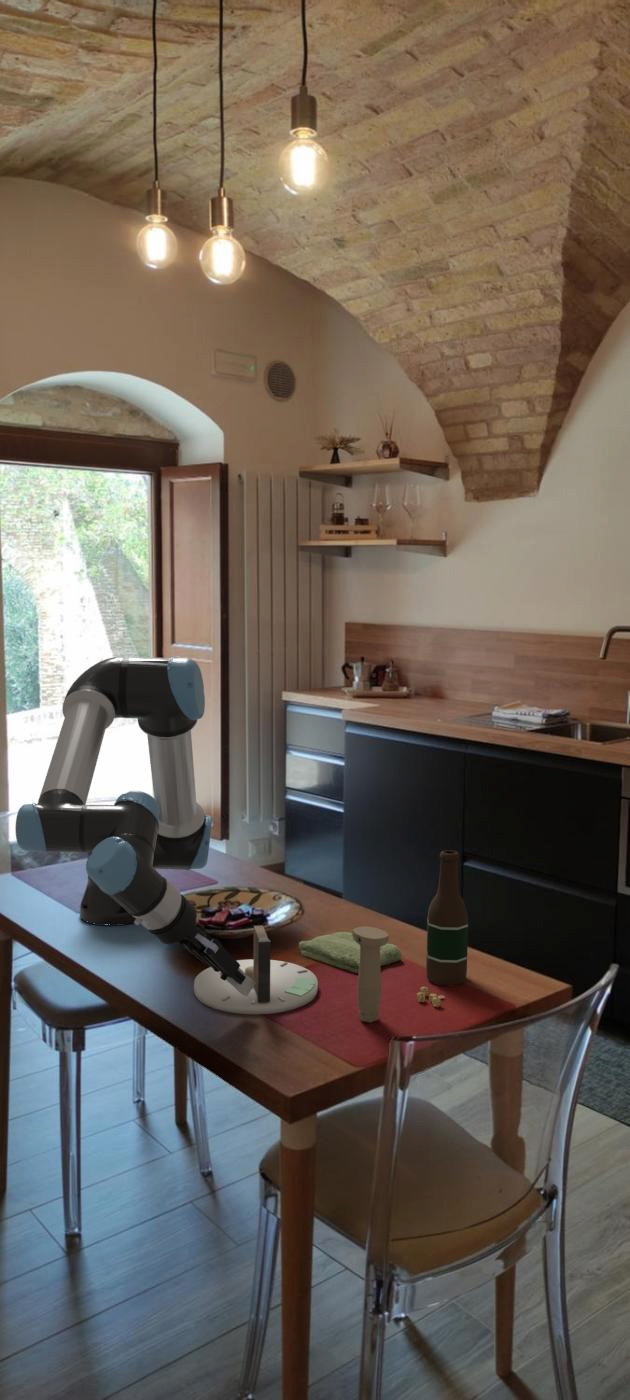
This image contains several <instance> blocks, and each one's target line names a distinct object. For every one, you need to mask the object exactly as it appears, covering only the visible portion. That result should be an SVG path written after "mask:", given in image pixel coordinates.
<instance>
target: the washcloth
mask: <svg viewBox="0 0 630 1400" xmlns="http://www.w3.org/2000/svg"><path fill="white" fill-rule="evenodd" d="M298 948H299V949H300V951H301V952H300V954H301V956H303V957H307V958H308V959H312V960H315V961H318V962H321V963H324V964H327V965H330V966H333V967H336V968H339V969H342V970H345V971H349V972H350V971H351V973H355V974H357V973H358V974H359V962H360V945H359V944H358V943H357V942H356V941H355V940H354V938H353V932H347V931H342V932H341V931H338V932H334V933H330V934H325V935H320V936H319V935H318V936H316V937H314V938H313V939H310V940H301V941H300V942H298ZM402 958H403V956H402V952H401V949H400V948H399V947H398V946H397V945H395V944H393V943H387V944H385V945H383V946H381V947H380V967H383V966H387V965H390V964H392V963H396V962H398V961H401V959H402Z"/></svg>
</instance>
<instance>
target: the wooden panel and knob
mask: <svg viewBox="0 0 630 1400" xmlns="http://www.w3.org/2000/svg"><path fill="white" fill-rule="evenodd" d="M271 943H272V942H271V939H269V938H268V934H267V932H266V930H265V928H264V925H253V959H254V961H253V966H250V967H247V968H246V969H245V974H247V975H248V976H249V977H250V978H251V979H252V980H253V981H254V982H255V983H256V984H255V985H254V988H255V991H256V994H257V1001H258V1003H266V1002H270V960H271V948H272V947H271Z"/></svg>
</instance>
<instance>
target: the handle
mask: <svg viewBox="0 0 630 1400" xmlns="http://www.w3.org/2000/svg"><path fill="white" fill-rule="evenodd" d="M352 934H353V938H354V940H355V941H356V942H357V943H358V944H359V945H360V962H359V974H358V976H357V977H358V978H357V1006H358V1015H359V1016H358V1017H359V1019H360V1021H361V1022H362V1023H365V1022H366V1023H370V1024H371V1023H373V1022H377V1021H378V1019H379V1013H378V1012H379V1010H380V1006H381V998H382V975H381V974H382V973H381V972H382V971H381V970H382V969H381V966H380V947H381V946H383V945H385V944H389V936H390V935H389V934H388V932H387V931H385V930H383V929H382V928H381V929H380V928H378V927H374V926H367V925H366V926H359V927H355V928H353V929H352Z"/></svg>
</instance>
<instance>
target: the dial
mask: <svg viewBox="0 0 630 1400" xmlns="http://www.w3.org/2000/svg"><path fill="white" fill-rule="evenodd" d="M236 961H237V962H238V963H239V964H240V967H239V968H240V969H241V970H242V971H243V972H244V973H245V969H246V968H247V967H250V966H253V961H254V958H253V959H237V960H236ZM220 977H221V975H220V971H219V972H215V971H214V970H213V968H212V967H208V968H206V969H204V970H202V971H201V972H199V973H198V974H197V976H195V978H194V982H193V992H194V995H195V997H196V1000H198V1001H199V1002H201V1003H202V1004H204V1005H205V1006H207V1007H210V1008H212V1009H215V1010H218V1011H222V1012H227V1013H232V1014H240V1015H270V1014H277V1013H283V1012H289V1011H292V1010H295V1009H299V1008H301V1007H303V1006H305V1005H307V1004H309V1003H310V1002H312V1001H313V1000H314V999H315V998H316V996H317V994H318V984H319V983H318V982H319V981H318V978H317V976H316V975H315V974H314V972H312V971H311V970H309V969H308V968H306V967H304V966H302V965H299V964H295V963H293V962H288V961H282V960H275V959H270V1002H266V1003H258V1001H257V994H256V991H255V988H254V987H253V988H252V990H251V991H250V993H249V994H248V996H247V997H246V996H244V995H242V994H241V993H240V992H239V991H238V990H236V989H235V988H234V987H233V986H232V985H231V984H230V983H229V982H228V981H226V980H225V981H224V980H222V979H221V978H220Z"/></svg>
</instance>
